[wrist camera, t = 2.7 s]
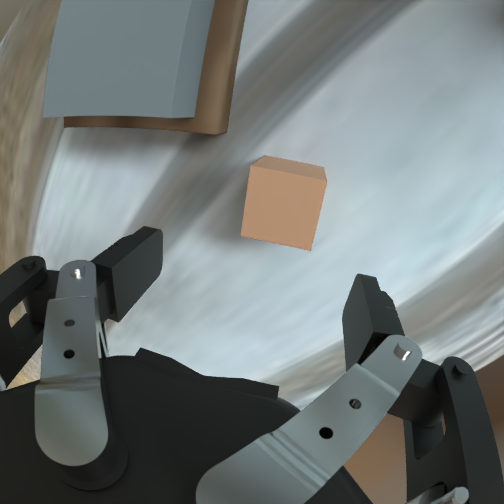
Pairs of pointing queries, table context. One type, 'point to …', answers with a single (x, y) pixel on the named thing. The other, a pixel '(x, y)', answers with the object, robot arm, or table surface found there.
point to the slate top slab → (127, 58)
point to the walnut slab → (210, 86)
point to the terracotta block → (283, 202)
